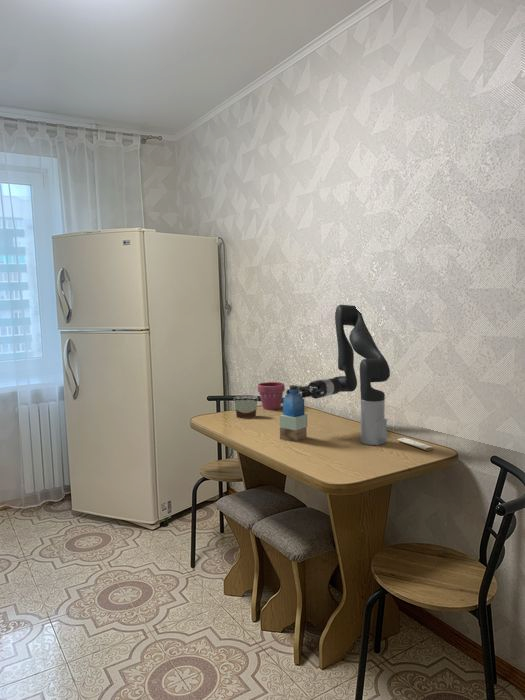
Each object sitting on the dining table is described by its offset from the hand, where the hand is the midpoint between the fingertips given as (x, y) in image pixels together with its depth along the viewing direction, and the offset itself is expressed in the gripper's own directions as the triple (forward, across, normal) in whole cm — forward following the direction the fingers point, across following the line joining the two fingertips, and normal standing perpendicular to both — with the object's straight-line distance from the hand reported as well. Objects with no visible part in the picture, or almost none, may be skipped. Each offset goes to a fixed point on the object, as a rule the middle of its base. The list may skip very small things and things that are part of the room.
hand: (294, 393), depth 210 cm
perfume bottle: (0, 0, +9) cm, 9 cm away
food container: (-12, -44, +19) cm, 49 cm away
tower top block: (+1, 0, +14) cm, 14 cm away
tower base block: (+1, 0, +19) cm, 19 cm away
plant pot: (-33, -49, +19) cm, 62 cm away
